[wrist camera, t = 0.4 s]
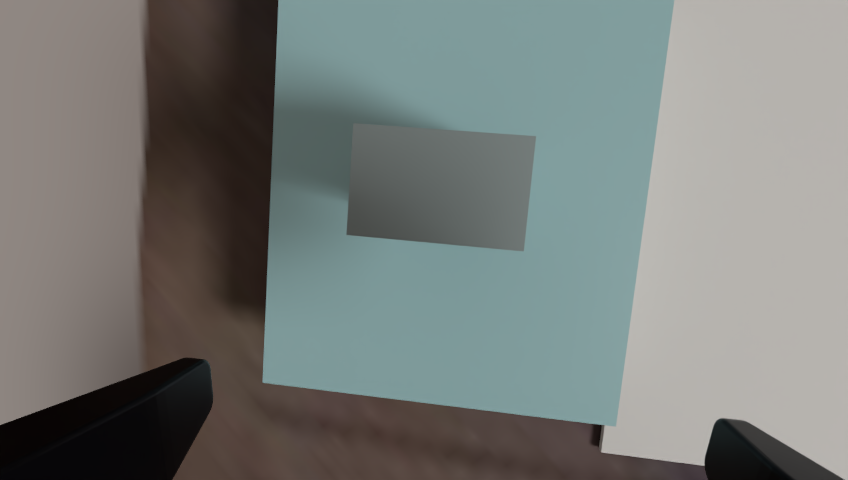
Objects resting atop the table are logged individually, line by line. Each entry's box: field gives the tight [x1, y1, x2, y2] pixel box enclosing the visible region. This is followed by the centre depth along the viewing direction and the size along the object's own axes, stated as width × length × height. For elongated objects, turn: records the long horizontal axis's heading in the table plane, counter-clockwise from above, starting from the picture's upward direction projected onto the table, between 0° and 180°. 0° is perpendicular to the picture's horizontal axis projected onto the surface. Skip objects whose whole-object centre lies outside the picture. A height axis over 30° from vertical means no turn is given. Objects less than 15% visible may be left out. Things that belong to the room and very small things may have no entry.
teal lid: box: [263, 0, 674, 427], centre depth 15 cm, size 17×14×10 cm
